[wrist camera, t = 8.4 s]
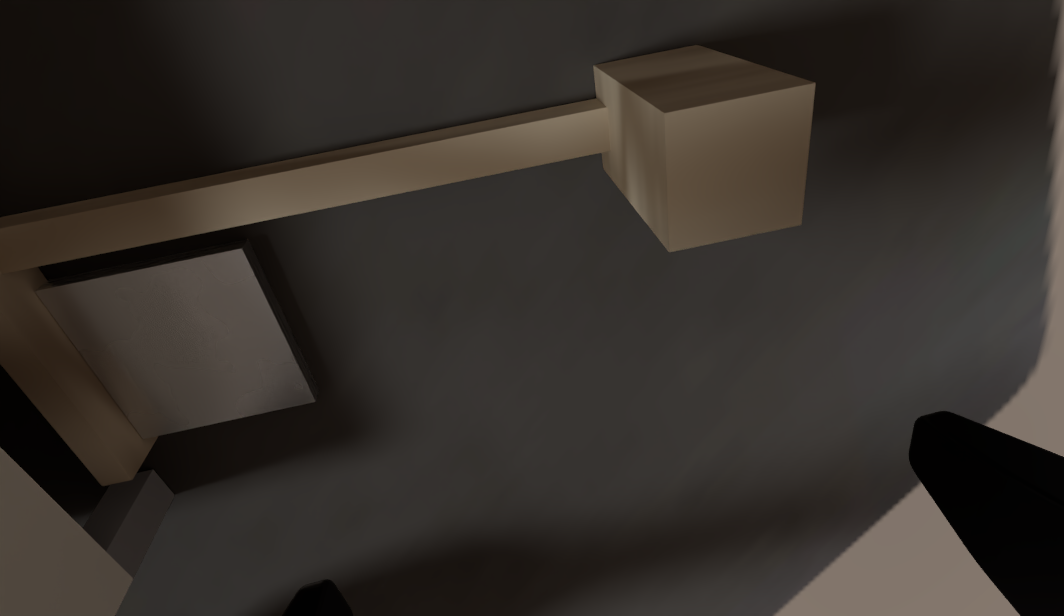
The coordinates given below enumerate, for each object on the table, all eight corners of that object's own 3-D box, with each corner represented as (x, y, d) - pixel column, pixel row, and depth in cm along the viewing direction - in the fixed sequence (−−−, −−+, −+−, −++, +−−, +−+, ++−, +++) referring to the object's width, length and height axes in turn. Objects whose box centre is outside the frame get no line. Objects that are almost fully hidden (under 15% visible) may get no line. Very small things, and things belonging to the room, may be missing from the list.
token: (321, 380, 21) (315, 401, 20) (157, 415, 21) (143, 439, 20) (253, 231, 18) (241, 248, 17) (57, 272, 17) (34, 291, 16)
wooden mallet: (698, 321, 21) (779, 435, 16) (130, 442, 20) (27, 602, 15) (697, 44, 16) (816, 83, 11) (-57, 193, 15) (-301, 307, 10)
